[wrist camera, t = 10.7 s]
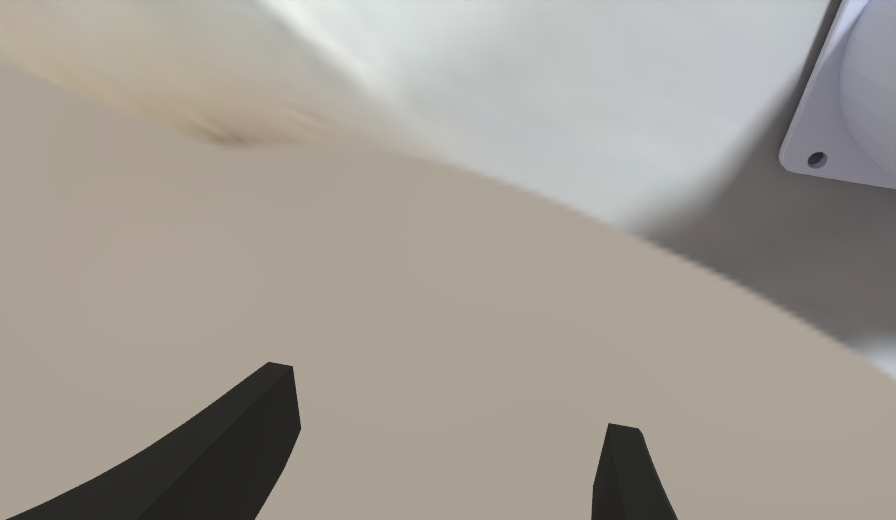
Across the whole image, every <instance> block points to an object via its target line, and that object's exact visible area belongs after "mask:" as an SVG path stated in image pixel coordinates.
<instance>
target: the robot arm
mask: <svg viewBox="0 0 896 520" xmlns="http://www.w3.org/2000/svg"><path fill="white" fill-rule="evenodd" d="M816 152H823V158H822V159H821V160H820V161H819V162H817V163H815V164H808V158H809V157H810V156H811V155H812V154H814V153H816ZM778 158H779V161H780V163H781V165H782V166H783V167H784V168H785V169H786V170H787V171H790V172H793V173H799V174H805V175H812V176H818V177H824V178H830V179H836V180H842V181H848V182H854V183H860V184H866V185H873V186H879V187H885V188H891V189H896V0H842V2H841V4H840V7H839V9H838V12H837V14H836V16H835V19H834V21H833V24H832V26H831V28H830V31H829V33H828V36H827V38H826V40H825V43H824V45H823V48H822V50H821V52H820V55H819V57H818V60H817V62H816V64H815V67H814V69H813V71H812V74H811V76H810V79H809V81H808V83H807V86H806V88H805V91H804V93H803V95H802V98H801V100H800V103H799V105H798V107H797V110H796V112H795V115H794V117H793V119H792V122H791V124H790V127H789V129H788V131H787V134H786V136H785V139H784V141H783V143H782V146H781V148H780V151H779V155H778ZM300 430H301V424H300V416H299V409H298V401H297V394H296V387H295V380H294V372H293V366H289V365H283V364H277V363H272V362H268V363H266V364H265V365H264V366H262V367H261V368H259V369H258V370H257V371H255V372H254V373H253V374H251V375H250V376H249V377H247V378H246V379H244V380H243V381H242V382H240V383H239V384H238V385H236V386H235V387H234V388H232V389H231V390H230V391H228V392H227V393H226V394H224V395H223V396H222V397H220V398H219V399H218V400H216V401H215V402H213V403H212V404H211V405H209V406H208V407H207V408H205V409H204V410H202V411H201V412H200V413H198V414H197V415H195V416H194V417H193V418H191V419H190V420H188V421H187V422H185V423H184V424H182V425H181V426H179V427H178V428H176V429H175V430H173V431H172V432H170V433H169V434H167V435H166V436H164V437H163V438H161V439H160V440H158V441H157V442H155V443H154V444H152V445H151V446H149V447H147V448H146V449H144V450H143V451H141V452H139V453H138V454H136V455H134V456H133V457H131V458H129V459H128V460H126V461H124V462H122V463H121V464H119V465H117V466H115V467H113V468H112V469H110V470H108V471H106V472H105V473H103V474H101V475H99V476H97V477H95V478H93V479H92V480H90V481H88V482H86V483H84V484H82V485H79V486H78V487H75V488H74V489H71V490H69V491H67V492H66V493H63V494H61V495H59V496H57V497H55V498H54V499H51V500H49V501H47V502H45V503H43V504H41V505H38V506H37V507H34V508H32V509H29V510H27V511H25V512H23V513H20V514H18V515H16V516H14V517H11V518H9V519H6V520H255V518H256V516H257V515H258V513H259V511H260V510H261V508H262V506H263V505H264V503H265V501H266V499H267V498H268V496H269V494H270V492H271V491H272V489H273V487H274V485H275V484H276V482H277V480H278V479H279V477H280V475H281V473H282V471H283V470H284V468H285V466H286V463H287V461H288V459H289V457H290V454H291V452H292V450H293V447H294V445H295V443H296V440H297V438H298V435H299V433H300ZM591 520H678V519H677V517H676V514H675V512H674V510H673V508H672V506H671V504H670V502H669V500H668V498H667V495H666V493H665V491H664V489H663V486H662V484H661V482H660V479H659V477H658V475H657V472H656V470H655V467H654V465H653V462H652V460H651V457H650V455H649V451H648V449H647V446H646V443H645V440H644V437H643V434H642V433H641V431H640V430H639V429H638V428H632V427H627V426H621V425H616V424H610V423H609V424H608V428H607V432H606V436H605V440H604V444H603V448H602V452H601V456H600V460H599V465H598V469H597V473H596V477H595V481H594V485H593V499H592V518H591Z"/></svg>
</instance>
